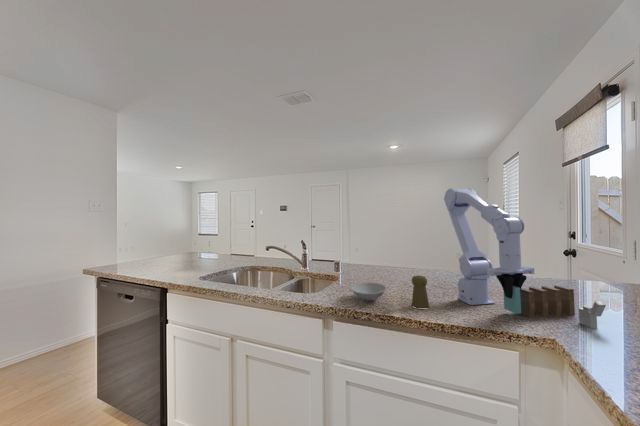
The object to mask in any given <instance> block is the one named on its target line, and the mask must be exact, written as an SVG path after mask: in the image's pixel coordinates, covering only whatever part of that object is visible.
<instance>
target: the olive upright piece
mask: <svg viewBox="0 0 640 426" xmlns="http://www.w3.org/2000/svg"><path fill="white" fill-rule="evenodd" d="M411 283H412V286H413V288H412V296H411V297H412V300H411V307H412V306H414V307H416V308H428V309H430V302H429V297H428V292H427V286H426V285H427V284H428V279H427V277H426V276H423V275H413V277H412V278H411Z"/></svg>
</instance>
